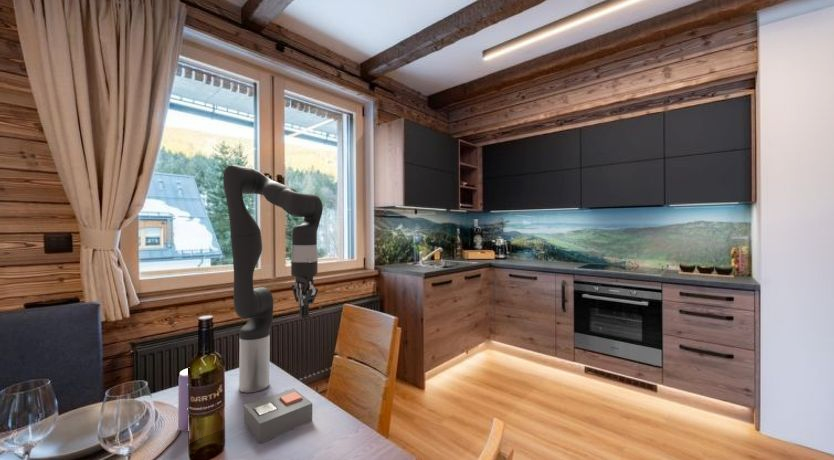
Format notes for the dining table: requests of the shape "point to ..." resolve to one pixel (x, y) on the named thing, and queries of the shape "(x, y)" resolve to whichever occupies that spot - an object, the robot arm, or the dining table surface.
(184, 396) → the beverage can
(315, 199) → the robot arm
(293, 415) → the grey plug holder
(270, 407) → the plug
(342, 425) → the dining table surface
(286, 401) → the orange cube
